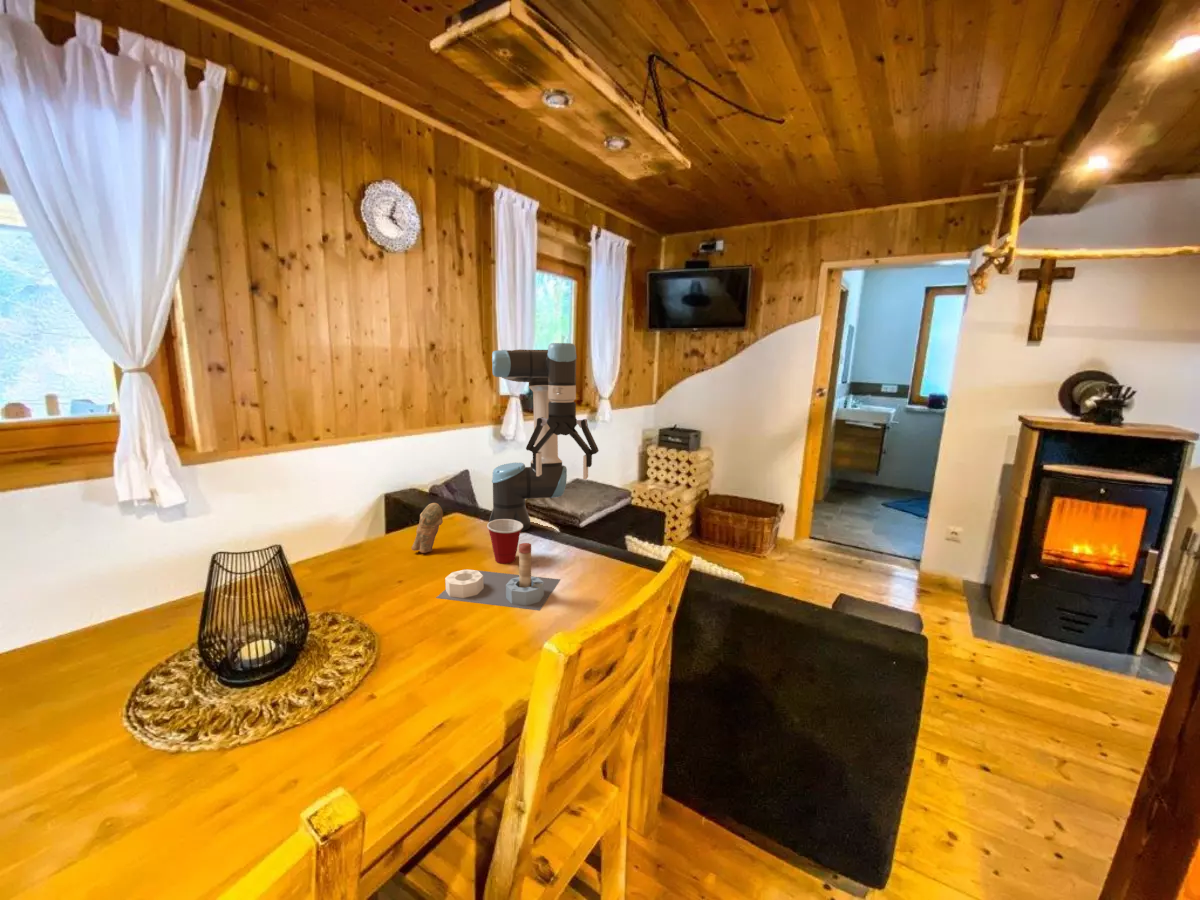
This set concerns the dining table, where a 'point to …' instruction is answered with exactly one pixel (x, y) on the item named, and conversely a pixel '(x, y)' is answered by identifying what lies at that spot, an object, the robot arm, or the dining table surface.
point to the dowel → (524, 565)
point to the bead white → (464, 583)
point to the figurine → (428, 528)
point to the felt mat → (502, 591)
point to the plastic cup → (504, 539)
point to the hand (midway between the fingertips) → (562, 476)
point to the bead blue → (525, 592)
